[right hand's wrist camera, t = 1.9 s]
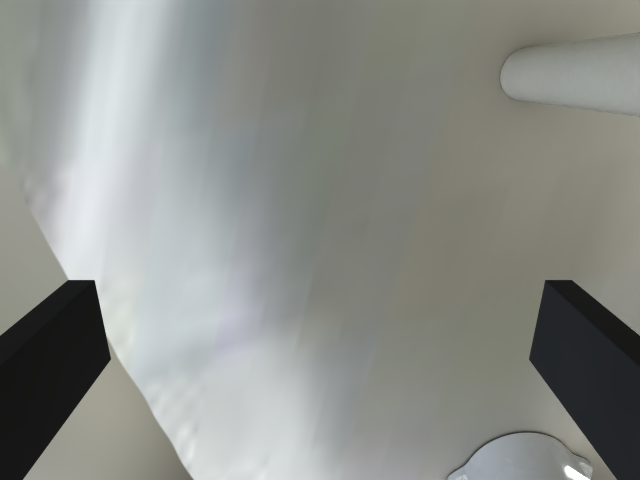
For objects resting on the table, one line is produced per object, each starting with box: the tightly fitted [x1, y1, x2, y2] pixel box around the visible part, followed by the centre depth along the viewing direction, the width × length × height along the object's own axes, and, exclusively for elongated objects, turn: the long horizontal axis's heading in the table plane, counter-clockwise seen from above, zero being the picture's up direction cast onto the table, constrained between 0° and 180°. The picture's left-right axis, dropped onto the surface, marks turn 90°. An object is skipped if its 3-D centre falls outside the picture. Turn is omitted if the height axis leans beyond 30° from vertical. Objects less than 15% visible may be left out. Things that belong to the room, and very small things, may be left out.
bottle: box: [500, 32, 640, 117], centre depth 28 cm, size 5×5×25 cm
